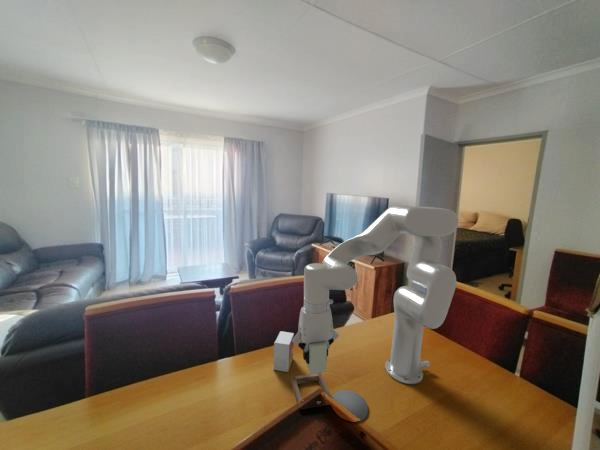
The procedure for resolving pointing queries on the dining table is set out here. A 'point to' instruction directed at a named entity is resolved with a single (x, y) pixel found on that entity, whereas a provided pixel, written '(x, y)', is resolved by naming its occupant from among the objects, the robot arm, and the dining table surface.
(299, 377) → the frame
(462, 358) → the dining table surface
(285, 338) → the small box
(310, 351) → the sage block
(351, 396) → the coaster
